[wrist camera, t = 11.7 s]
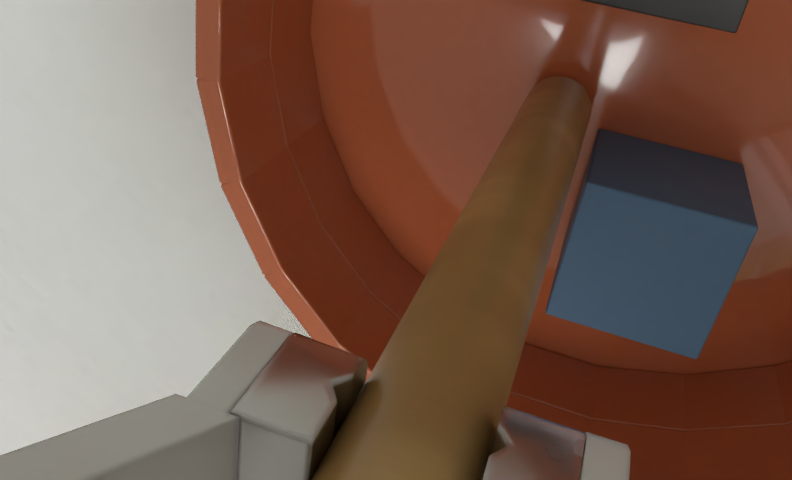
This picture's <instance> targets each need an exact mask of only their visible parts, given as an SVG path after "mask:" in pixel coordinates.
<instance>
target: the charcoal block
mask: <svg viewBox="0 0 792 480" xmlns="http://www.w3.org/2000/svg"><path fill="white" fill-rule="evenodd" d="M582 1H586V2H591V3H596V4H600V5H605V6H610V7H614V8H619V9H623V10H628V11H633V12H637V13H642V14H647V15H651V16H656V17H661V18H665V19H670V20H675V21H679V22H684V23H689V24H693V25H698V26H702V27H707V28H712V29H716V30H721V31H726V32H730V33H736V32H737V30H738V28H739V25H740V22H741V20H742V17H743V15H744V12H745V10H746V7H747V4H748V2H749V0H582Z"/></svg>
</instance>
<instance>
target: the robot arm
mask: <svg viewBox="0 0 792 480" xmlns="http://www.w3.org/2000/svg"><path fill="white" fill-rule="evenodd" d="M367 367H368V362H367V360H366V358H363V357H360V356H358V355H355V354H352V353H349V352H347V351H344V350H341V349H339V348H336V347H333V346H330V345H328V344H325V343H322V342H319V341H317V340H314V339H311V338H308V337H306V336H303V335H300V334H297V333H292V332H290V331H287V330H284V329H282V328H279V327H276V326H273V325H271V324H268V323H265V322H262V321H258V322H256V323H254V324H252V325H250V326H249V327H248V328H247V329H246V331H245V332H244V333H243V334H242V335H241V336H240V337H239V338H238V340H237V341H236V342H235V343H234V344H233V345H232V346H231V348H230V349H229V350H228V351H227V352H226V353H225V354H224V356H223V357H222V358H221V359H220V360H219V361H218V362H217V364H216V365H215V366H214V367H213V368H212V369H211V370H210V372H209V373H208V374H207V375H206V376H205V377H204V378H203V380H202V381H201V382H200V383H199V384H198V385H197V386H196V388H195V389H194V390H193V391H192V392H191V393H190V394H189V395H188V397H187V398H186V397H183V396H180V395H178V394H174V395H171V396H169V397H166V398H163V399H160V400H157V401H154V402H151V403H149V404H146V405H143V406H140V407H137V408H134V409H131V410H129V411H126V412H123V413H120V414H117V415H114V416H112V417H109V418H106V419H103V420H100V421H97V422H94V423H92V424H89V425H86V426H83V427H80V428H77V429H75V430H72V431H69V432H66V433H63V434H60V435H57V436H55V437H52V438H49V439H46V440H43V441H40V442H38V443H35V444H32V445H29V446H26V447H23V448H20V449H18V450H15V451H12V452H9V453H6V454H3V455H1V456H0V480H311V479H312V477H313V476H314V474H315V472H316V470H317V469H318V467H319V465H320V463H321V462H322V460H323V458H324V456H325V455H326V453H327V451H328V449H329V447H330V446H331V444H332V441H333V440H334V438H335V436H336V434H337V433H338V431H339V429H340V427H341V425H342V424H343V422H344V420H345V418H346V417H347V416H348V414H349V412H350V410H351V408H352V407H353V405H354V403H355V401H356V399H357V398H358V396H359V394H360V392H361V390H362V388H363V387H364V385H365V382H366V375H367ZM630 456H631V451H630V449H629V447H628V445H626V444H623V443H620V442H617V441H614V440H611V439H608V438H604V437H601V436H598V435H595V434H592V433H589V432H585V433H584V432H583V431H580V430H577V429H574V428H571V427H568V426H565V425H562V424H559V423H556V422H553V421H550V420H547V419H544V418H541V417H538V416H535V415H532V414H529V413H526V412H523V411H520V410H517V409H514V408H511V407H508V406H505V405H504V407H503V410H502V414H501V417H500V420H499V423H498V426H497V429H496V433H495V436H494V439H493V443H492V446H491V449H490V452H489V456H488V459H487V462H486V465H485V471H484V474H483V477H482V480H629V473H630Z"/></svg>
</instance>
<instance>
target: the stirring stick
mask: <svg viewBox="0 0 792 480" xmlns="http://www.w3.org/2000/svg"><path fill="white" fill-rule="evenodd" d="M590 115H591V100H590V97H589V95H588V93H587V91H586V90H585V89H584V88H583V86H582V85H580V84H579V83H578V82H576V81H575V80H573V79H570V78H567V77H562V76H555V77H549V78H546V79H544V80H542V81H540V82H539V83H537V84H536V85H535V86H534V87H533V88H532V89H531V91H530V92H529V94H528V96H527V97H526V99H525V101H524V103H523V104H522V106H521V108H520V110H519V112H518V113H517V115H516V117H515V119H514V120H513V122H512V124H511V126H510V128H509V129H508V131H507V133H506V135H505V136H504V138H503V140H502V142H501V143H500V145H499V147H498V149H497V151H496V152H495V154H494V156H493V158H492V159H491V161H490V163H489V165H488V167H487V168H486V170H485V172H484V174H483V175H482V177H481V179H480V181H479V182H478V184H477V186H476V188H475V190H474V191H473V193H472V195H471V197H470V198H469V200H468V202H467V204H466V206H465V207H464V209H463V211H462V213H461V214H460V216H459V218H458V220H457V221H456V223H455V225H454V227H453V229H452V230H451V232H450V234H449V236H448V237H447V239H446V241H445V243H444V245H443V246H442V248H441V250H440V252H439V253H438V255H437V257H436V259H435V261H434V262H433V264H432V266H431V268H430V269H429V271H428V273H427V275H426V276H425V278H424V280H423V282H422V284H421V285H420V287H419V289H418V291H417V292H416V294H415V296H414V298H413V300H412V301H411V303H410V305H409V307H408V308H407V310H406V312H405V314H404V315H403V317H402V319H401V321H400V323H399V324H398V326H397V328H396V330H395V331H394V333H393V335H392V337H391V339H390V340H389V342H388V344H387V346H386V347H385V349H384V351H383V353H382V354H381V356H380V358H379V360H378V362H377V363H376V365H375V367H374V369H373V370H372V372H371V374H370V376H369V378H368V379H367V381H366V383H365V385H364V387H363V388H362V390H361V392H360V394H359V396H358V398H357V399H356V401H355V403H354V405H353V407H352V408H351V410H350V412H349V414H348V416H347V417H346V418H345V420H344V422H343V424H342V425H341V427H340V429H339V431H338V433H337V434H336V436H335V438H334V440H333V441H332V444H331V446H330V447H329V449H328V451H327V453H326V455H325V456H324V458H323V460H322V462H321V463H320V465H319V467H318V469H317V470H316V472H315V474H314V476H313V477H312V479H311V480H482V477H483V474H484V471H485V465H486V462H487V459H488V456H489V452H490V449H491V446H492V443H493V439H494V436H495V433H496V429H497V426H498V423H499V420H500V417H501V414H502V410H503V407H504V405H505V406H506V405H507V402H508V398H509V395H510V391H511V388H512V384H513V381H514V377H515V374H516V371H517V367H518V364H519V360H520V357H521V353H522V350H523V346H524V343H525V340H526V336H527V333H528V329H529V326H530V322H531V319H532V315H533V312H534V309H535V305H536V302H537V298H538V295H539V291H540V288H541V284H542V281H543V278H544V274H545V271H546V267H547V264H548V260H549V257H550V253H551V250H552V247H553V243H554V240H555V236H556V233H557V229H558V226H559V222H560V219H561V216H562V212H563V209H564V205H565V202H566V198H567V195H568V191H569V188H570V185H571V181H572V178H573V174H574V171H575V167H576V164H577V160H578V157H579V154H580V150H581V147H582V143H583V140H584V136H585V133H586V129H587V126H588V123H589V119H590Z"/></svg>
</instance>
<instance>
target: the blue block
mask: <svg viewBox="0 0 792 480" xmlns="http://www.w3.org/2000/svg"><path fill="white" fill-rule="evenodd" d="M757 230H758V224H757V220H756V216H755V212H754V208H753V203H752V199H751V195H750V191H749V187H748V183H747V179H746V174H745V170H744V166H743V164H741V163H737V162H733V161H729V160H725V159H721V158H717V157H713V156H709V155H705V154H701V153H697V152H693V151H689V150H685V149H681V148H677V147H673V146H669V145H665V144H661V143H657V142H653V141H649V140H645V139H641V138H637V137H633V136H629V135H625V134H621V133H617V132H613V131H609V130H605V129H598V131H597V134H596V138H595V141H594V144H593V147H592V151H591V154H590V157H589V160H588V164H587V167H586V170H585V173H584V177H583V180H582V183H581V186H580V190H579V193H578V196H577V199H576V203H575V206H574V209H573V212H572V216H571V219H570V222H569V225H568V229H567V232H566V235H565V238H564V241H563V245H562V249H561V253H560V256H559V260H558V264H557V268H556V272H555V276H554V280H553V284H552V288H551V292H550V295H549V299H548V303H547V307H546V314H548V315H551V316H555V317H558V318H561V319H564V320H568V321H571V322H574V323H578V324H581V325H584V326H588V327H591V328H594V329H597V330H601V331H604V332H607V333H611V334H614V335H617V336H620V337H624V338H627V339H630V340H634V341H637V342H640V343H644V344H647V345H650V346H653V347H657V348H660V349H663V350H667V351H670V352H673V353H676V354H680V355H683V356H686V357H690V358H693V359H697V358H698V357H699V355H700V353H701V351H702V348H703V346H704V344H705V342H706V340H707V338H708V336H709V333H710V331H711V329H712V327H713V325H714V323H715V321H716V318H717V316H718V314H719V312H720V310H721V308H722V306H723V303H724V301H725V299H726V297H727V295H728V293H729V291H730V288H731V286H732V284H733V282H734V280H735V278H736V276H737V273H738V271H739V269H740V267H741V265H742V263H743V260H744V258H745V256H746V254H747V252H748V250H749V248H750V245H751V243H752V241H753V239H754V237H755V235H756V233H757Z"/></svg>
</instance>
